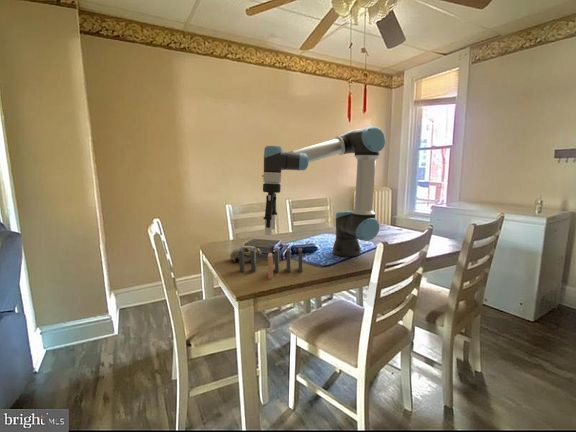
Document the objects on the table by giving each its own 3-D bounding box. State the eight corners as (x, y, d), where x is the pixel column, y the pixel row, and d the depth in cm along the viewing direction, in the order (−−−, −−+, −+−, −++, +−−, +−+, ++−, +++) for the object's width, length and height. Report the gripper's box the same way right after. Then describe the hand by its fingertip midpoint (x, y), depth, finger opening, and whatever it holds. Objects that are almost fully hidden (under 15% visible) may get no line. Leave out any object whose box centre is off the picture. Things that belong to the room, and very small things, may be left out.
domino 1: (245, 268, 145) (244, 248, 143) (243, 272, 140) (242, 251, 138) (241, 268, 145) (240, 248, 143) (239, 272, 140) (238, 251, 138)
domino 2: (256, 268, 145) (255, 248, 143) (254, 272, 140) (254, 251, 138) (253, 268, 145) (252, 248, 143) (251, 272, 140) (250, 251, 138)
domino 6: (302, 268, 144) (301, 247, 142) (302, 272, 139) (301, 250, 137) (298, 268, 144) (298, 247, 142) (298, 272, 139) (298, 250, 137)
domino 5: (290, 268, 144) (290, 247, 142) (290, 272, 139) (289, 250, 137) (287, 268, 144) (286, 247, 142) (286, 272, 139) (286, 250, 138)
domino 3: (273, 274, 136) (272, 252, 135) (272, 278, 132) (271, 256, 130) (269, 274, 137) (268, 252, 135) (268, 278, 132) (267, 256, 130)
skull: (261, 269, 156) (256, 259, 148) (231, 267, 160) (225, 257, 152) (264, 253, 162) (260, 242, 154) (236, 252, 165) (230, 241, 158)
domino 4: (279, 268, 144) (278, 247, 143) (278, 272, 139) (277, 250, 138) (275, 268, 144) (275, 248, 143) (275, 272, 139) (274, 250, 138)
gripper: (267, 181, 143) (265, 226, 146) (258, 183, 118) (256, 237, 121) (283, 182, 143) (281, 227, 146) (277, 184, 118) (275, 238, 121)
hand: (270, 232), depth 134 cm, fingers open, 13 cm apart
